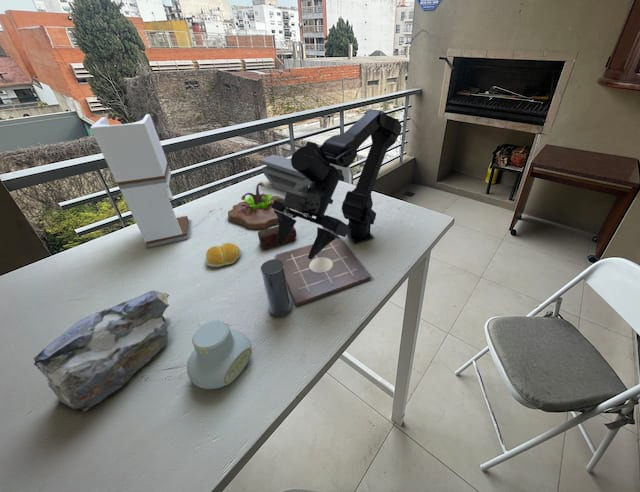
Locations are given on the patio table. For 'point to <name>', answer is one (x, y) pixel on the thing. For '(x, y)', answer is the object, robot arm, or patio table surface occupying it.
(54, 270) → the patio table surface
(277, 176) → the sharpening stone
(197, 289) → the patio table surface
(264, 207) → the plant
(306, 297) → the grid board
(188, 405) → the patio table surface
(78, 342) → the fossil rock
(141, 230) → the white box tower
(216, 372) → the air freshener
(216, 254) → the bread roll
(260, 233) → the brick
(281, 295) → the dark gray cylindrical container
